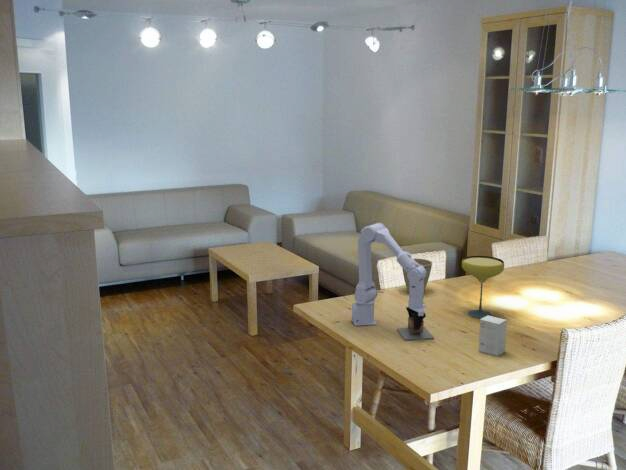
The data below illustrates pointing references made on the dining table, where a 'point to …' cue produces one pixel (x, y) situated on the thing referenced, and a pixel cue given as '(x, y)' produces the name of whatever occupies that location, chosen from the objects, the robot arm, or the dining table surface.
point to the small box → (492, 335)
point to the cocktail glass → (482, 275)
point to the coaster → (414, 334)
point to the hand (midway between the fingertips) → (415, 326)
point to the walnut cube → (411, 326)
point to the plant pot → (427, 265)
